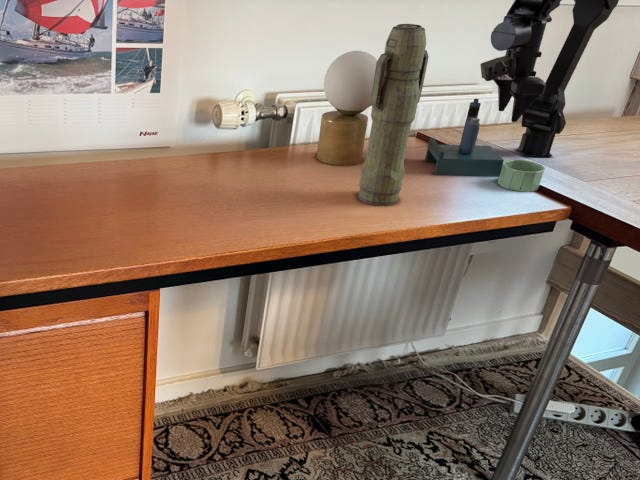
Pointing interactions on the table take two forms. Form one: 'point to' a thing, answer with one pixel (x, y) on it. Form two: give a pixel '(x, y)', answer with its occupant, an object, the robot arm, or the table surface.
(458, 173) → the dark green stepped platform
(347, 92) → the lamp
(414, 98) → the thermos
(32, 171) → the table surface
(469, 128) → the vaping device
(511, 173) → the green bowl
